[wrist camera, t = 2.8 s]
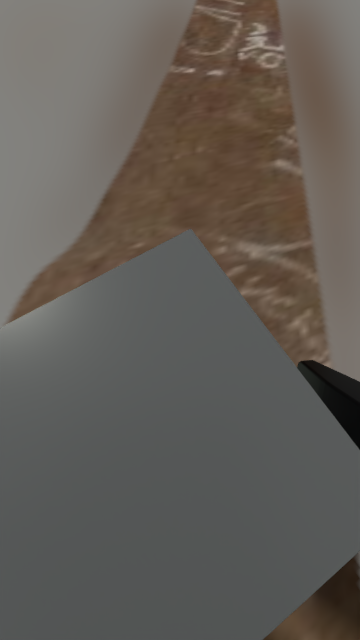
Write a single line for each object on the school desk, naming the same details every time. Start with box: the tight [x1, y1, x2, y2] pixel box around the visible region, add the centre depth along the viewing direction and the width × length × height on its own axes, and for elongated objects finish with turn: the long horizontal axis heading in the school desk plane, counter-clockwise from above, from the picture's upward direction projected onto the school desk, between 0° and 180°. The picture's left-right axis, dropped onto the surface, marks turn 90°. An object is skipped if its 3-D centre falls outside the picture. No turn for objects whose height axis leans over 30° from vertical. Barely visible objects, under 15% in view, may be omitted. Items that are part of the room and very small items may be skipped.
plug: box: [0, 229, 360, 640], centre depth 8 cm, size 4×4×12 cm
